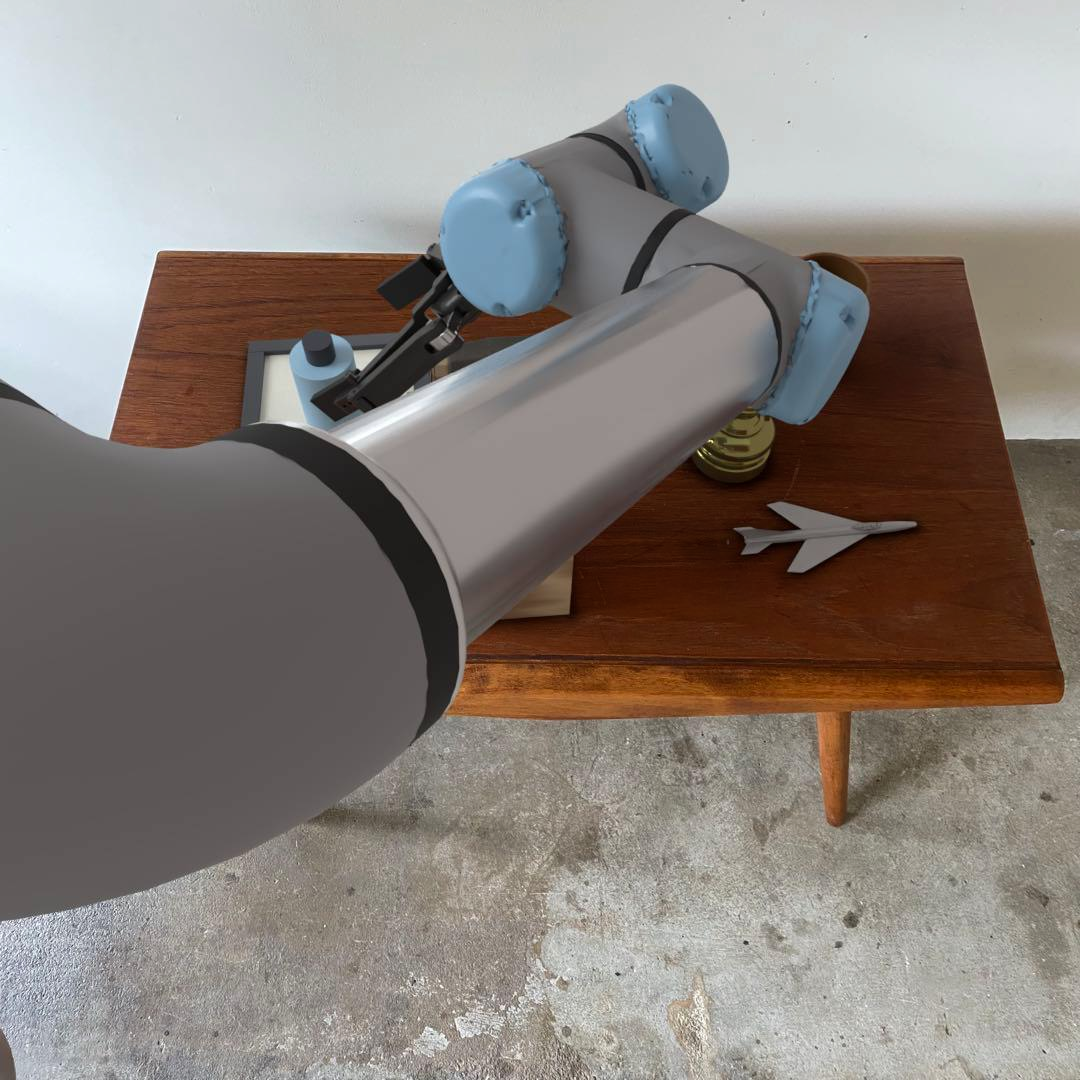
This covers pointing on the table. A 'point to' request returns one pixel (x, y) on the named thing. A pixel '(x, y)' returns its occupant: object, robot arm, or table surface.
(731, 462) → the brass weight
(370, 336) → the whiteboard
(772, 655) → the table surface
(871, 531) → the toy airplane
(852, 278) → the mug
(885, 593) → the table surface
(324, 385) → the cleaner bottle
